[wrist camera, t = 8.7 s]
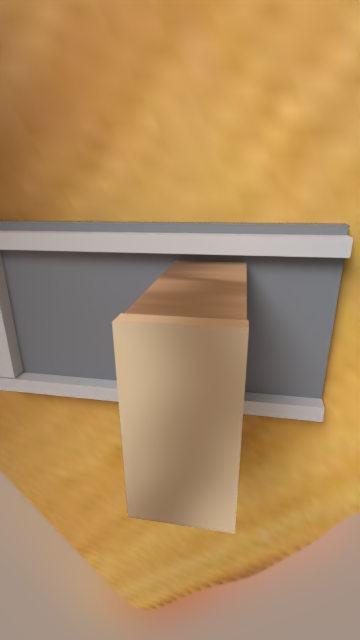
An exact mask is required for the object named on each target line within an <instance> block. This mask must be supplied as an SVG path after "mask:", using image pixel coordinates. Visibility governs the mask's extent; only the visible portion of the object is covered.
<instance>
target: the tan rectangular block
mask: <svg viewBox="0 0 360 640" xmlns="http://www.w3.org/2000/svg"><path fill="white" fill-rule="evenodd" d="M112 328H113V341H114V353H115V365H116V377H117V389H118V401H119V413H120V425H121V437H122V450H123V462H124V474H125V486H126V498H127V510H128V517H132V518H138V519H144V520H151V521H157V522H164V523H170V524H176V525H183V526H189V527H195V528H202V529H208V530H214V531H221V532H227V533H234V534H235V526H236V511H237V496H238V482H239V467H240V453H241V438H242V423H243V409H244V394H245V380H246V365H247V350H248V336H249V320H247V262H218V261H181V260H176V261H175V262H174V263H173V264H172V265H171V266H170V267H169V268H168V269H167V270H166V271H165V272H164V273H163V274H162V275H161V276H160V277H159V278H158V279H157V280H156V281H155V282H154V283H153V284H152V285H151V286H150V287H149V288H148V289H147V290H146V291H145V292H144V293H143V294H142V295H141V296H140V297H139V298H138V299H137V300H136V301H135V302H134V303H133V304H132V305H131V306H130V307H129V308H128V310H127V311H126V312H125V313H121V314H120V315H119V316H118V317H117V318H116V319H115V320H113V321H112Z"/></svg>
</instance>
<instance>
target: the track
mask: <svg viewBox="0 0 360 640" xmlns="http://www.w3.org/2000/svg"><path fill="white" fill-rule="evenodd" d="M349 226H350V225H347V224H326V223H209V222H92V221H0V390H5V391H16V392H26V393H36V394H46V395H56V396H66V397H76V398H86V399H96V400H106V401H116V402H119V401H118V389H117V377H116V365H115V353H114V341H113V328H112V321H113V320H115V319H116V318H117V317H118V316H119V315H120V314H121V313H125V312H126V311H127V310H128V308H129V307H130V306H131V305H132V304H133V303H134V302H135V301H136V300H137V299H138V298H139V297H140V296H141V295H142V294H143V293H144V292H145V291H146V290H147V289H148V288H149V287H150V286H151V285H152V284H153V283H154V282H155V281H156V280H157V279H158V278H159V277H160V276H161V275H162V274H163V273H164V272H165V271H166V270H167V269H168V268H169V267H170V266H171V265H172V264H173V263H174V262H175V261H176V260H181V261H218V262H247V320H249V336H248V350H247V365H246V380H245V394H244V409H243V414H246V415H256V416H266V417H276V418H287V419H297V420H307V421H317V422H323V417H324V411H325V407H324V404H323V401H322V393H323V387H324V381H325V374H326V368H327V362H328V356H329V350H330V343H331V337H332V331H333V325H334V319H335V312H336V306H337V300H338V294H339V288H340V281H341V275H342V269H343V263H344V258H350V255H351V249H352V243H353V237H350V236H348V232H349Z"/></svg>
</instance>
